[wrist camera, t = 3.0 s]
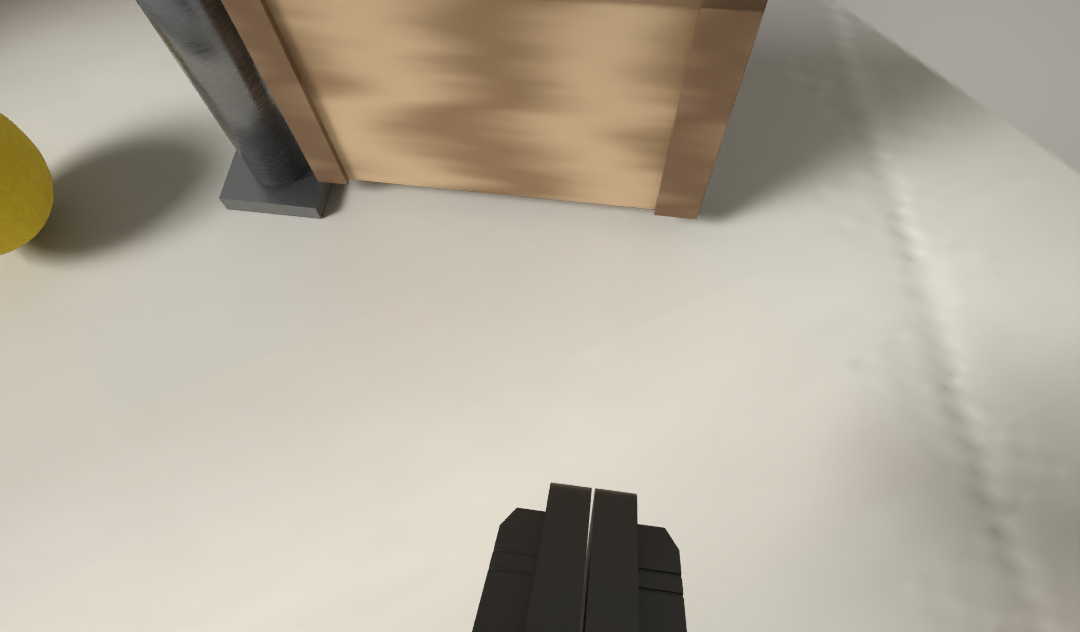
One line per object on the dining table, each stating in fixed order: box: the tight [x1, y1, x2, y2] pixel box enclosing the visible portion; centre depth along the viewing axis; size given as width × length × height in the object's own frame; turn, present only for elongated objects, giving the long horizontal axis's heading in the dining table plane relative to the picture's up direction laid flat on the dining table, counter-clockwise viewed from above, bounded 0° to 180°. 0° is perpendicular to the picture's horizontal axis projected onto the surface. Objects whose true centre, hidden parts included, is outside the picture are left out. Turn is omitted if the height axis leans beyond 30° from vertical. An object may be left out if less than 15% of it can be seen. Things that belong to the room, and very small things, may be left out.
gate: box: [221, 0, 768, 219], centre depth 24 cm, size 15×2×11 cm, turn 83°
